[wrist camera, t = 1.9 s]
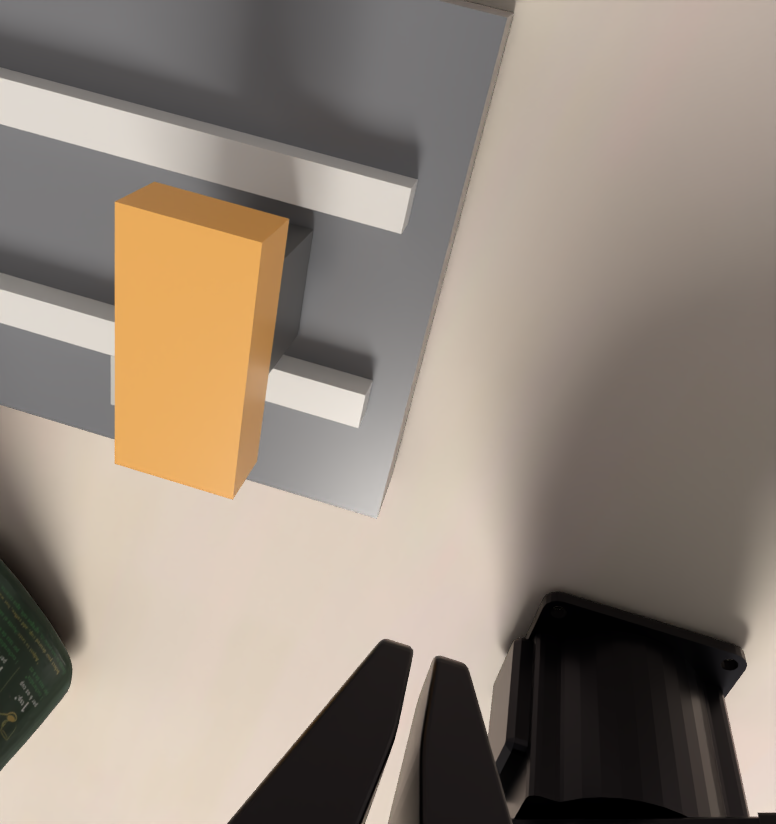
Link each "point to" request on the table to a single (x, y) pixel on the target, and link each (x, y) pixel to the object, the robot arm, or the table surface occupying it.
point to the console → (245, 195)
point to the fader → (200, 331)
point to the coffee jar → (26, 666)
